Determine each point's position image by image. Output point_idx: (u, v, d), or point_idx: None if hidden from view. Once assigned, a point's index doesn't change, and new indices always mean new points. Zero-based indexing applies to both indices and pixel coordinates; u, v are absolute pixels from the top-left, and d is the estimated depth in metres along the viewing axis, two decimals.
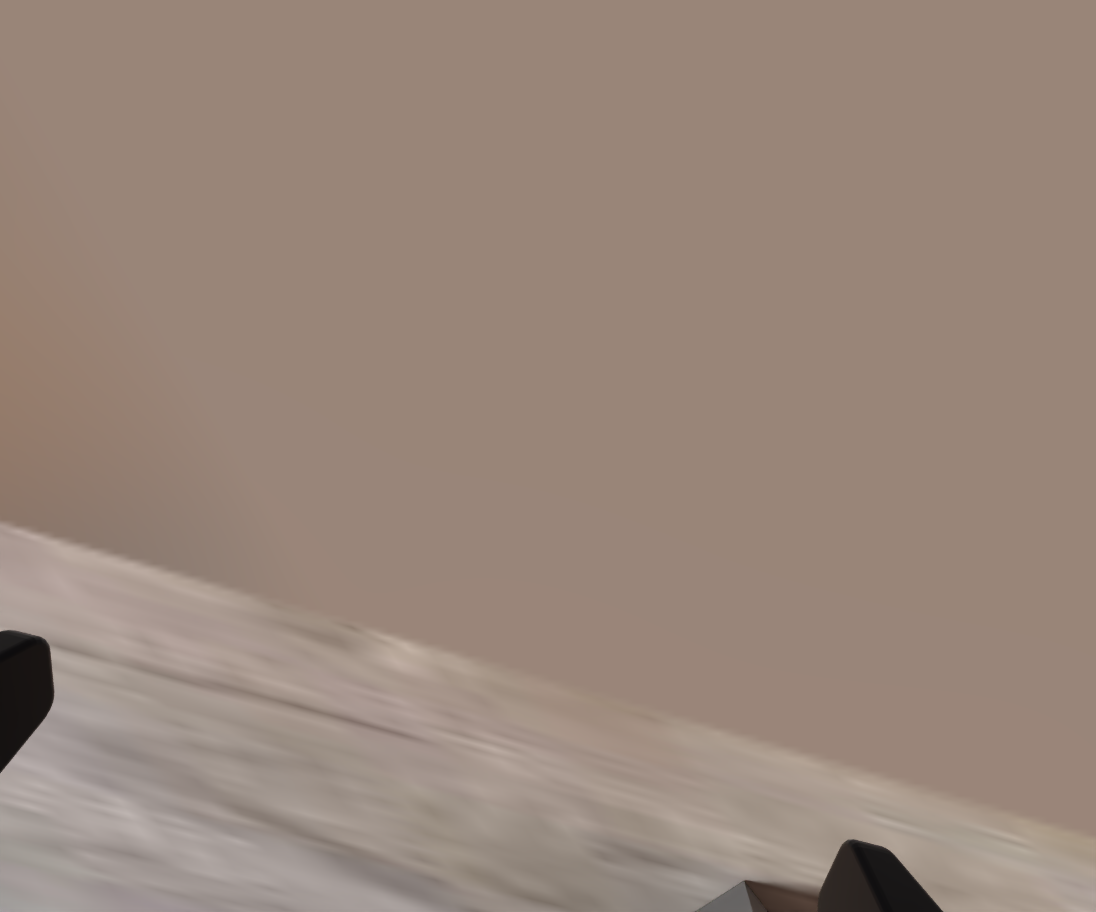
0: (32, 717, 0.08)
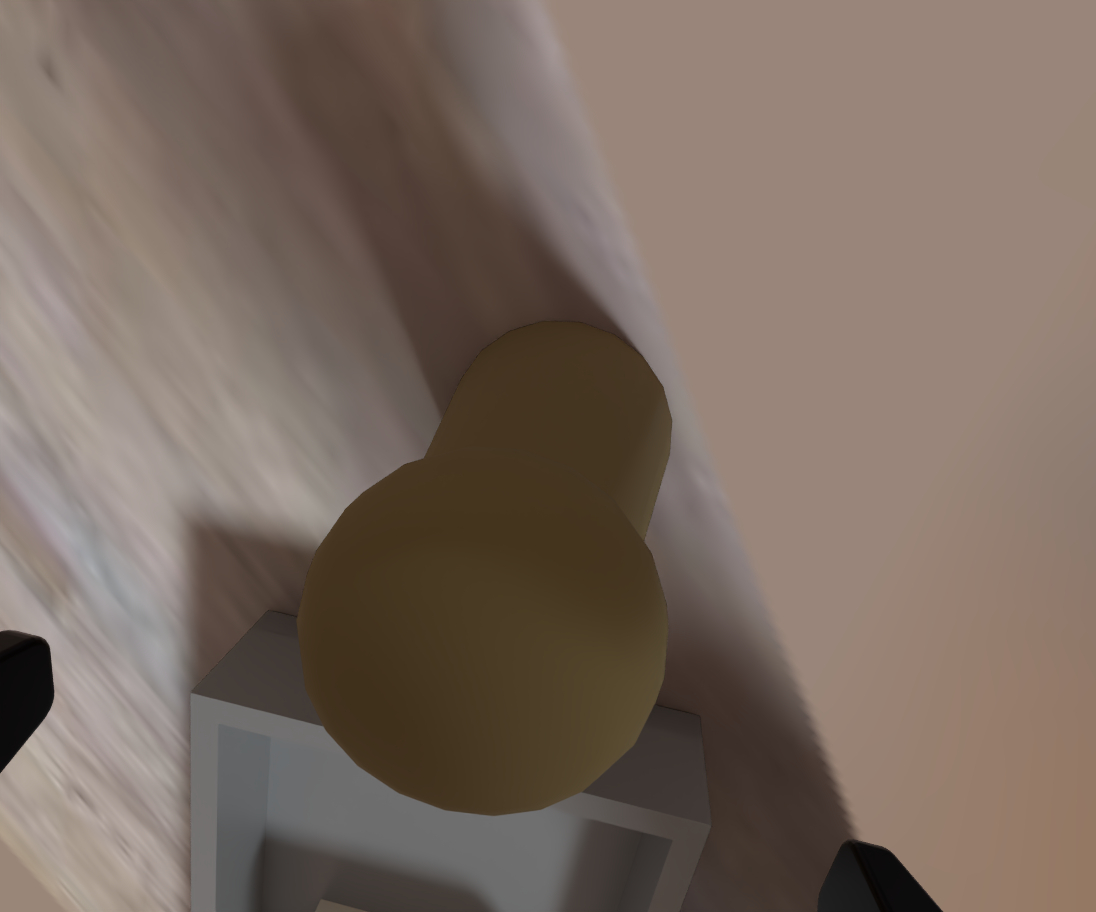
0: (32, 717, 0.08)
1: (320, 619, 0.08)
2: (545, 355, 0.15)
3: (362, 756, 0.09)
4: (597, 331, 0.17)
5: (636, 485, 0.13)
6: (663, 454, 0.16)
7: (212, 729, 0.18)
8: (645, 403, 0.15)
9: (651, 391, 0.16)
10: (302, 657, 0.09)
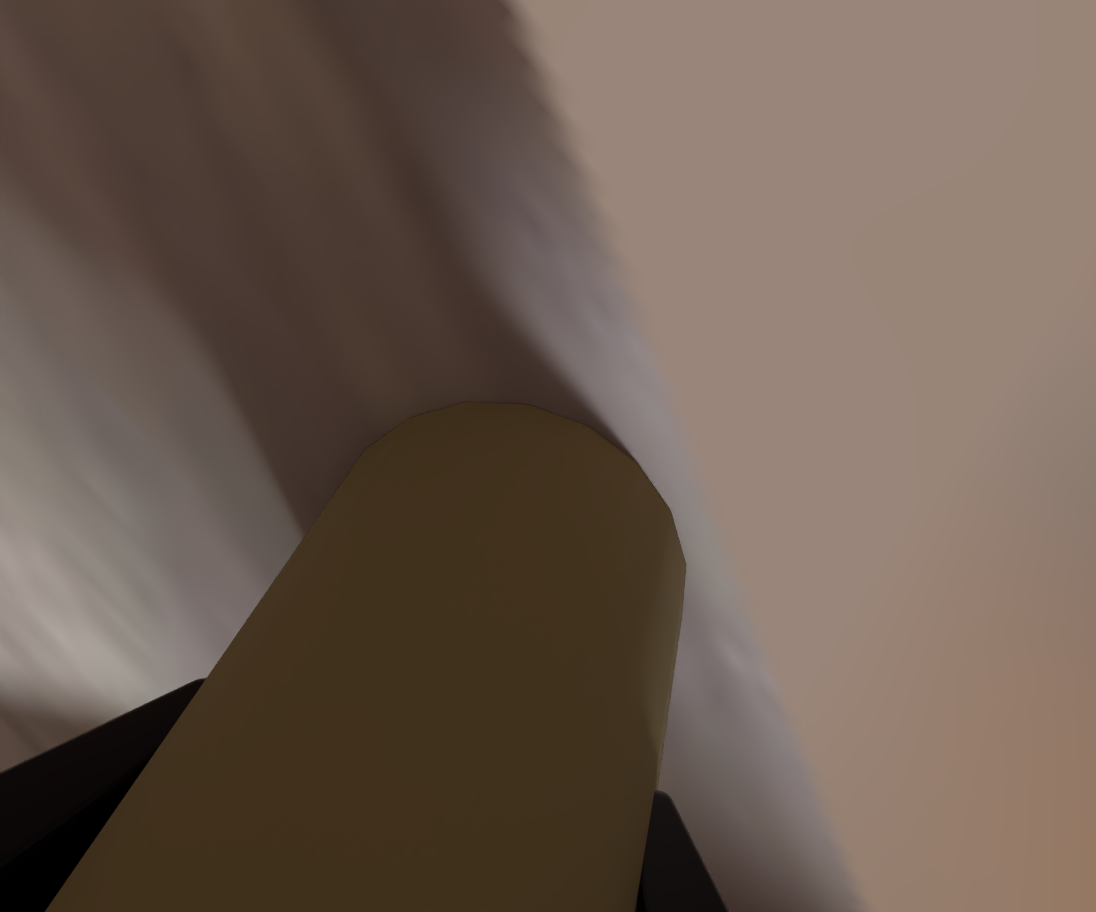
0: None
1: None
2: (447, 492, 0.08)
3: None
4: (557, 422, 0.10)
5: (615, 864, 0.05)
6: (673, 658, 0.09)
7: None
8: (640, 576, 0.08)
9: (651, 535, 0.09)
10: None
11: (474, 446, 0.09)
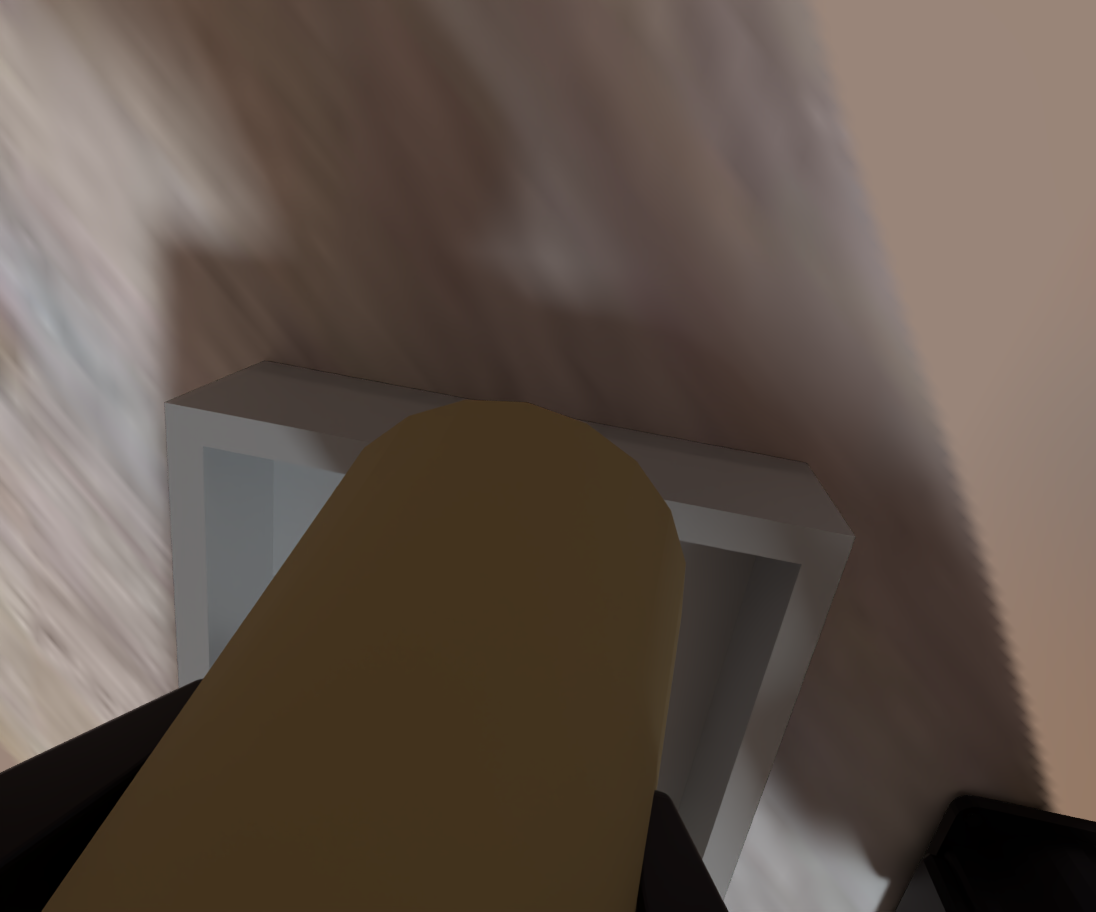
0: None
1: None
2: (446, 489, 0.08)
3: None
4: (556, 420, 0.10)
5: (615, 861, 0.05)
6: (673, 656, 0.09)
7: (195, 456, 0.14)
8: (639, 573, 0.08)
9: (650, 533, 0.09)
10: None
11: (473, 444, 0.09)
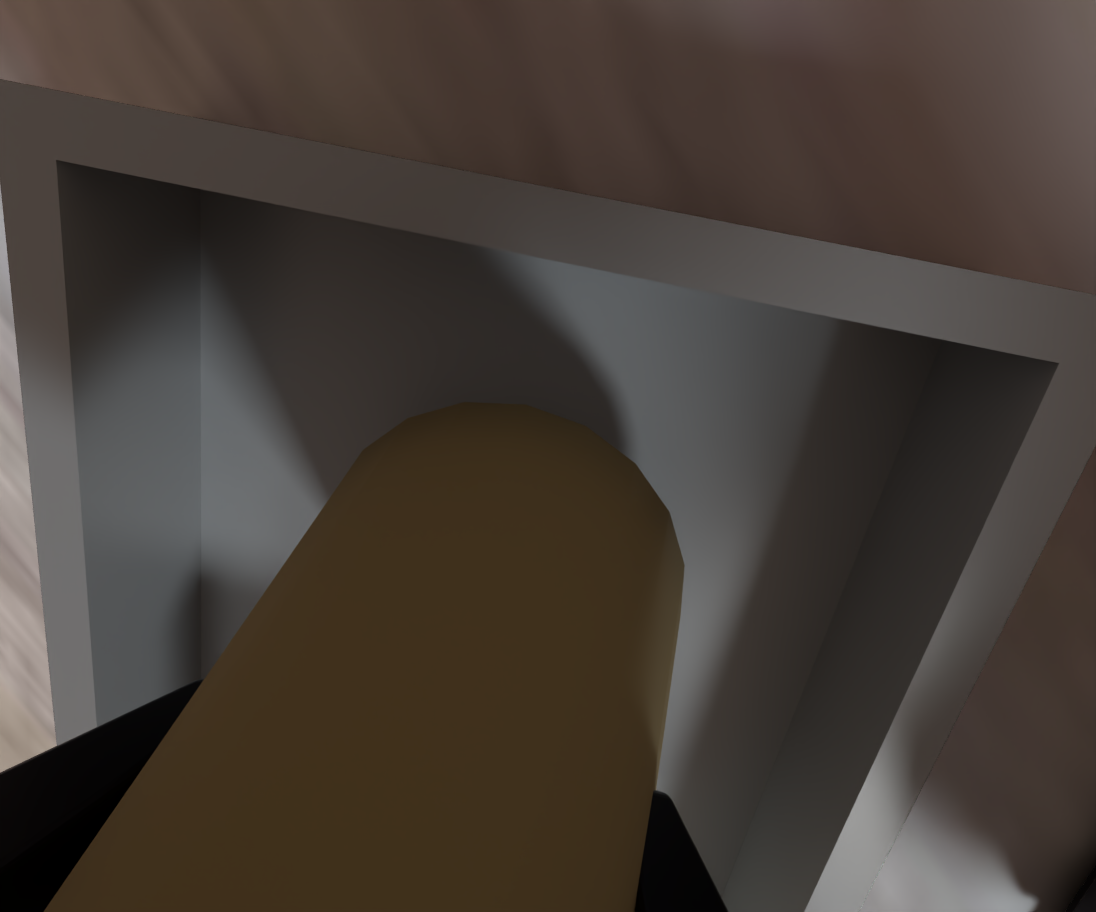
0: None
1: None
2: (445, 492, 0.08)
3: None
4: (555, 422, 0.10)
5: (614, 866, 0.05)
6: (672, 658, 0.09)
7: (45, 179, 0.09)
8: (638, 576, 0.08)
9: (649, 536, 0.09)
10: None
11: (472, 446, 0.09)
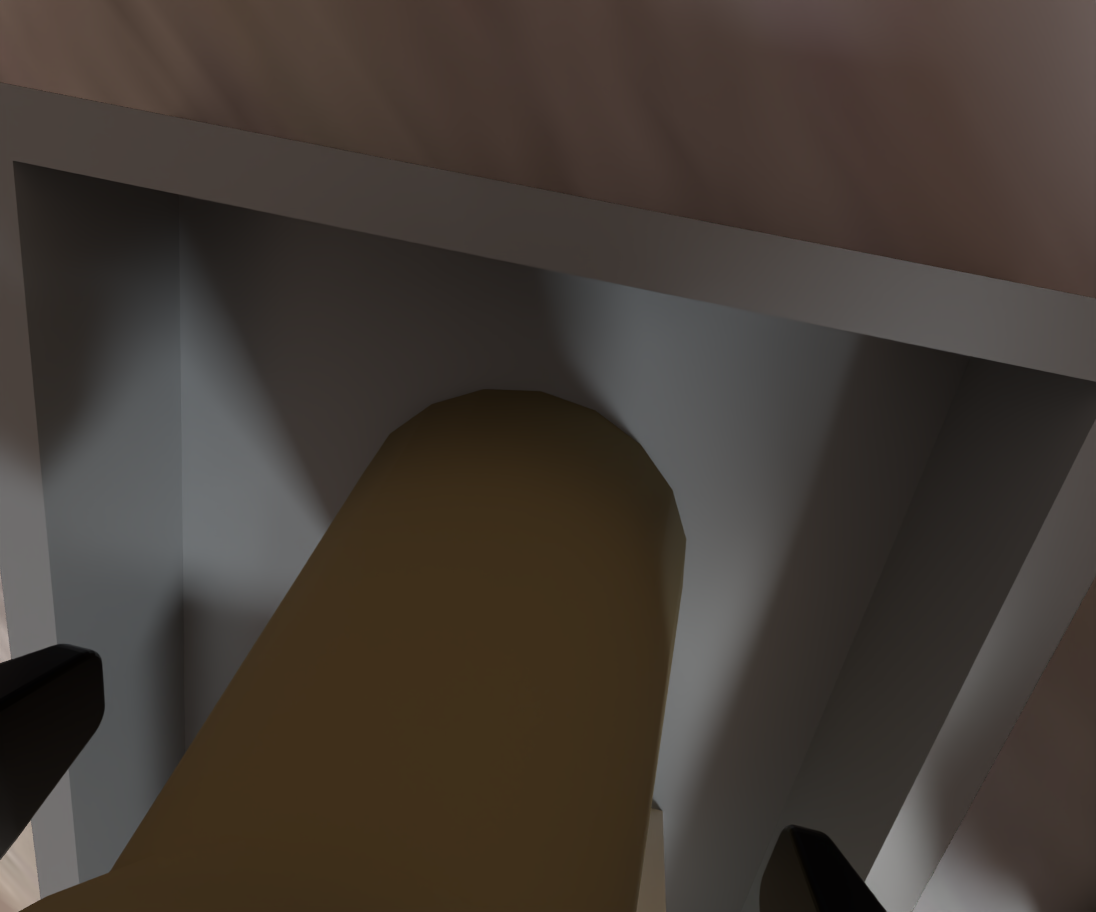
0: (85, 731, 0.07)
1: None
2: (472, 466, 0.09)
3: None
4: (567, 407, 0.11)
5: (628, 773, 0.06)
6: (675, 618, 0.10)
7: (1, 181, 0.08)
8: (644, 542, 0.09)
9: (654, 509, 0.10)
10: None
11: (494, 427, 0.10)
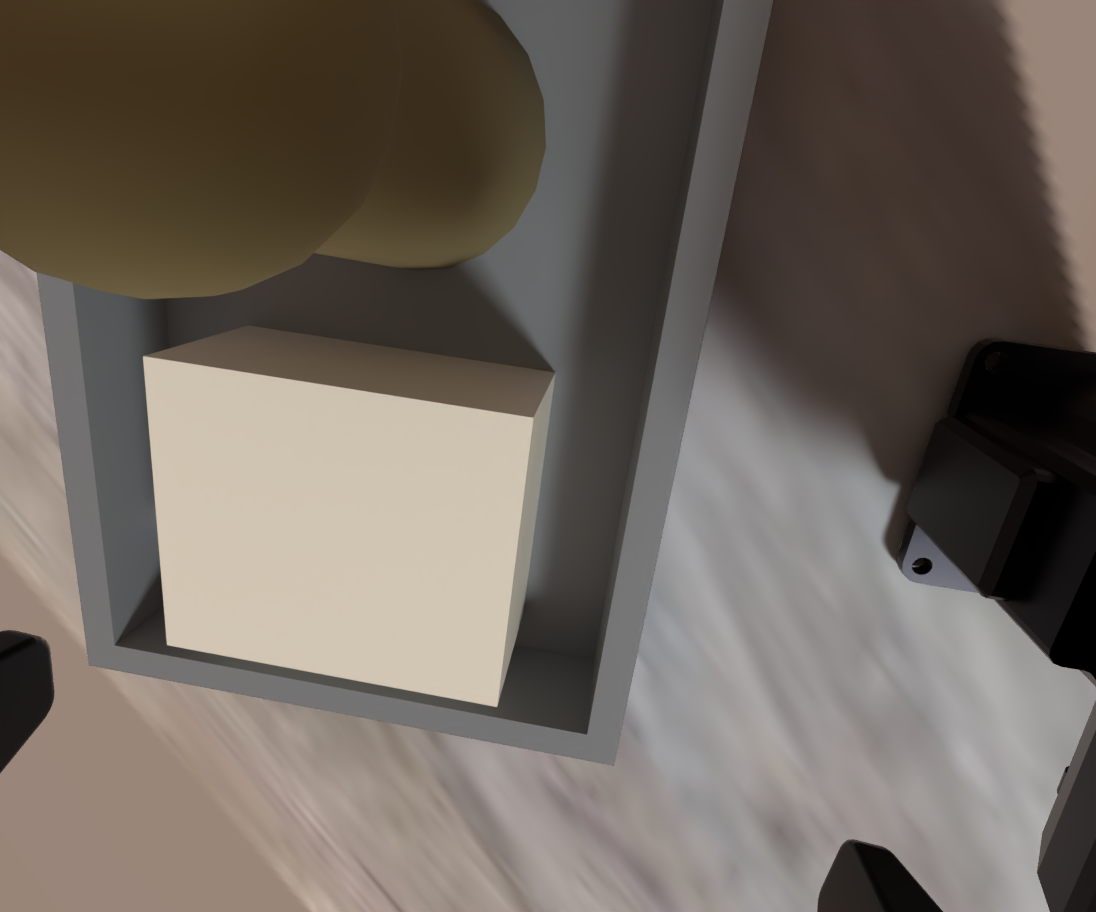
0: (32, 717, 0.08)
1: None
2: None
3: None
4: None
5: (427, 7, 0.09)
6: (516, 94, 0.13)
7: None
8: (484, 19, 0.12)
9: (502, 31, 0.13)
10: None
11: None
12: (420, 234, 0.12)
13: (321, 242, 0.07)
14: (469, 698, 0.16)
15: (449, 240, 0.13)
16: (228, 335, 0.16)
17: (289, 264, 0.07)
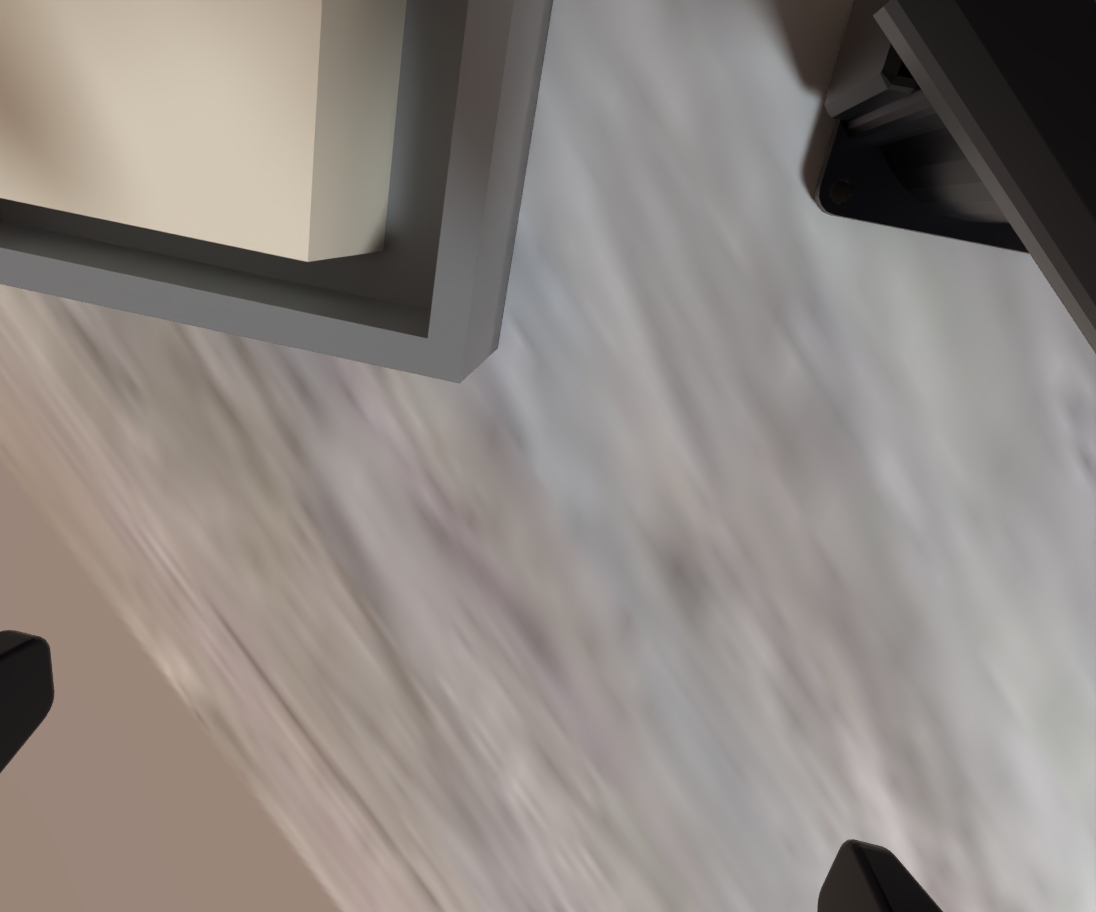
0: (32, 717, 0.08)
1: None
2: None
3: None
4: None
5: None
6: None
7: None
8: None
9: None
10: None
11: None
12: None
13: None
14: (274, 250, 0.13)
15: None
16: None
17: None
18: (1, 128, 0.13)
